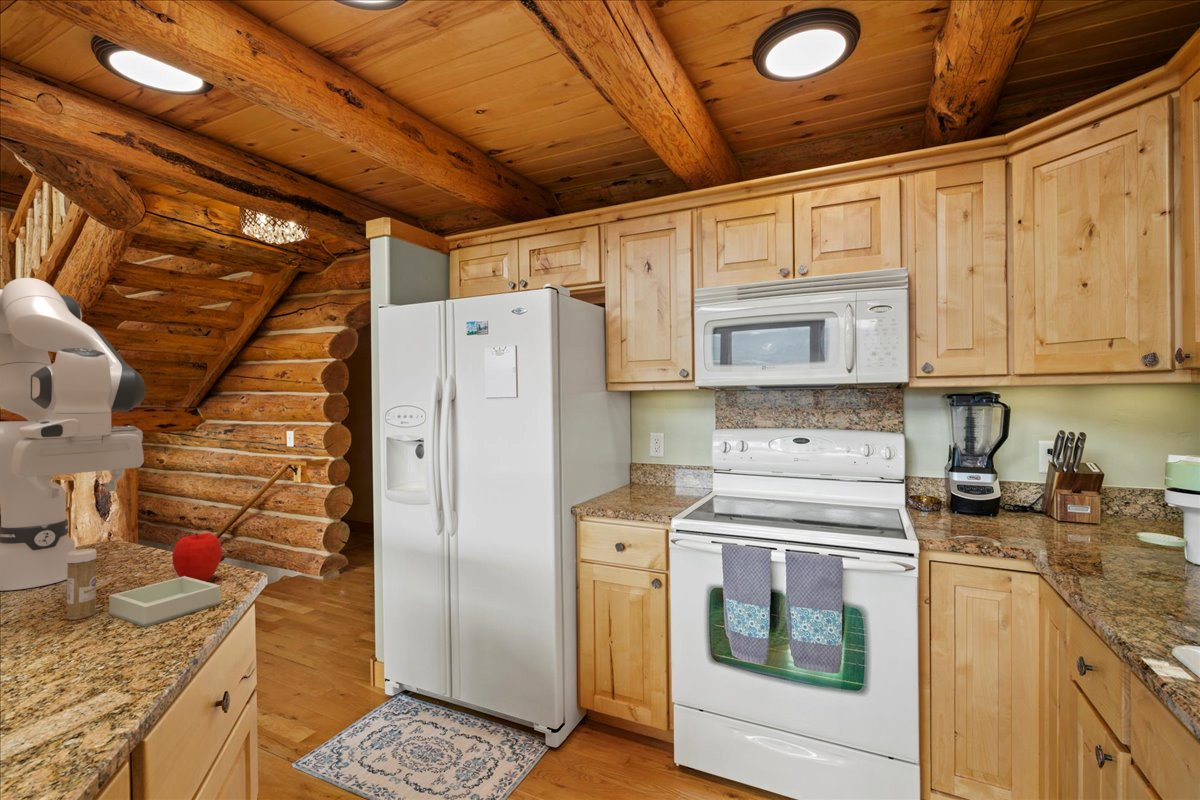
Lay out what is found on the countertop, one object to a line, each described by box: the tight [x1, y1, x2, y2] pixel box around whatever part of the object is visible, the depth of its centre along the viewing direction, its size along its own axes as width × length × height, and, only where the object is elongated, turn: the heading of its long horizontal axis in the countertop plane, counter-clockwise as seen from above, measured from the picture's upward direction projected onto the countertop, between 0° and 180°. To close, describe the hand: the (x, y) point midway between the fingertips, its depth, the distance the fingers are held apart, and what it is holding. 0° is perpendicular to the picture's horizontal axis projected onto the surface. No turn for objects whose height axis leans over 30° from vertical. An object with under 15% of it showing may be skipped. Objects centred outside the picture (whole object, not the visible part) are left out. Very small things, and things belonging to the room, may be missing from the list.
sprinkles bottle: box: [66, 548, 98, 621], centre depth 114 cm, size 5×5×14 cm
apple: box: [171, 532, 223, 582], centre depth 136 cm, size 10×10×12 cm
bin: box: [108, 576, 222, 628], centre depth 118 cm, size 14×14×4 cm
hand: (82, 494), depth 114 cm, fingers open, 8 cm apart
